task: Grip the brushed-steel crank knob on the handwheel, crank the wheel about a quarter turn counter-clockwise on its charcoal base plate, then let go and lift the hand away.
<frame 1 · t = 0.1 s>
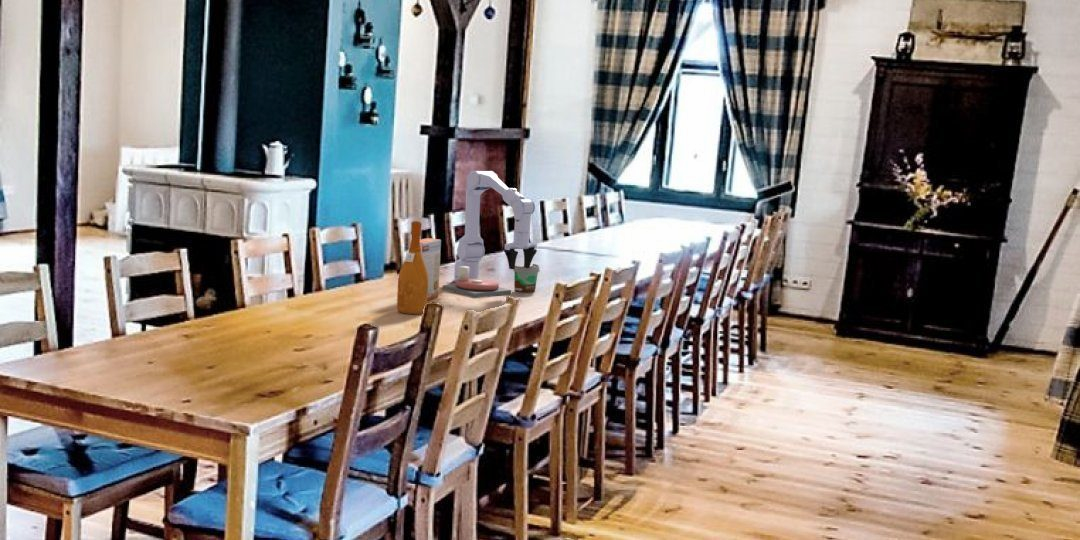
hand: (519, 268, 403), 10 cm above the table, fingers open, 7 cm apart
base plate: (476, 291, 406), on the table
handwheel: (477, 277, 405), point 5 cm above the table, hinge at 0.0°
wine bottle: (411, 312, 358), on the table
cracker box: (422, 299, 382), on the table
food container: (528, 292, 413), on the table
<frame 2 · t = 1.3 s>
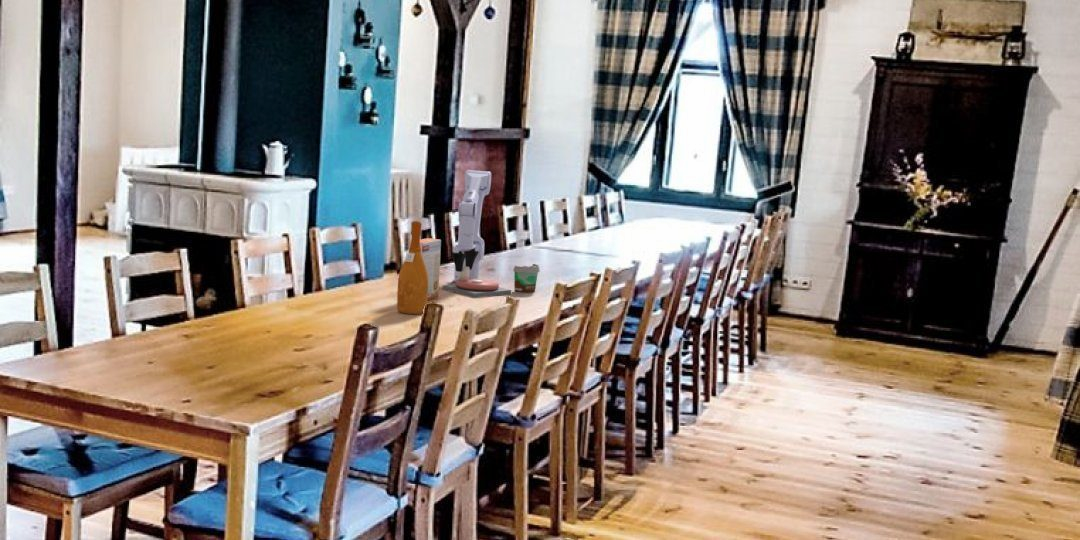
hand: (463, 270, 407), 7 cm above the table, fingers open, 7 cm apart
nothing on the table moved.
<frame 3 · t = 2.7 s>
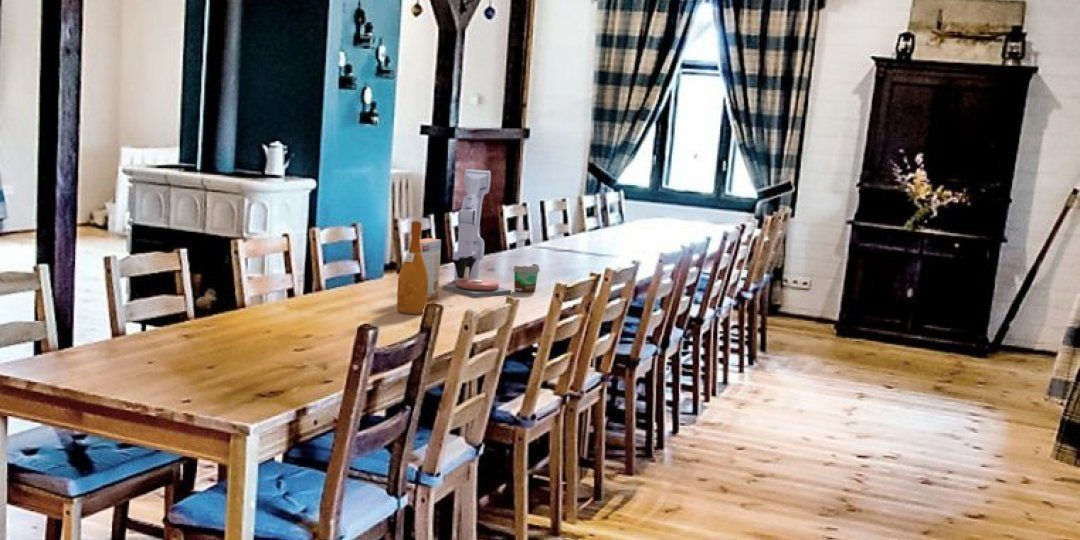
hand: (463, 277, 407), 5 cm above the table, fingers closed on handwheel, 4 cm apart
handwheel: (477, 277, 405), point 5 cm above the table, hinge at 0.0°, touching gripper
everything else where it was.
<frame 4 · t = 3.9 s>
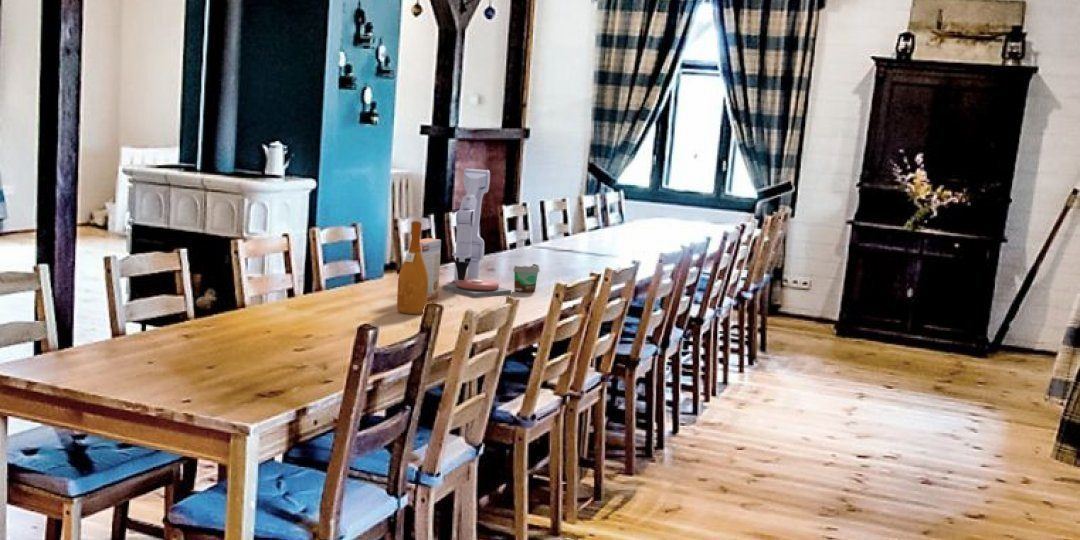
hand: (461, 278, 405), 5 cm above the table, fingers open, 6 cm apart
handwheel: (477, 277, 405), point 5 cm above the table, hinge at 14.5°, touching gripper
everything else where it was.
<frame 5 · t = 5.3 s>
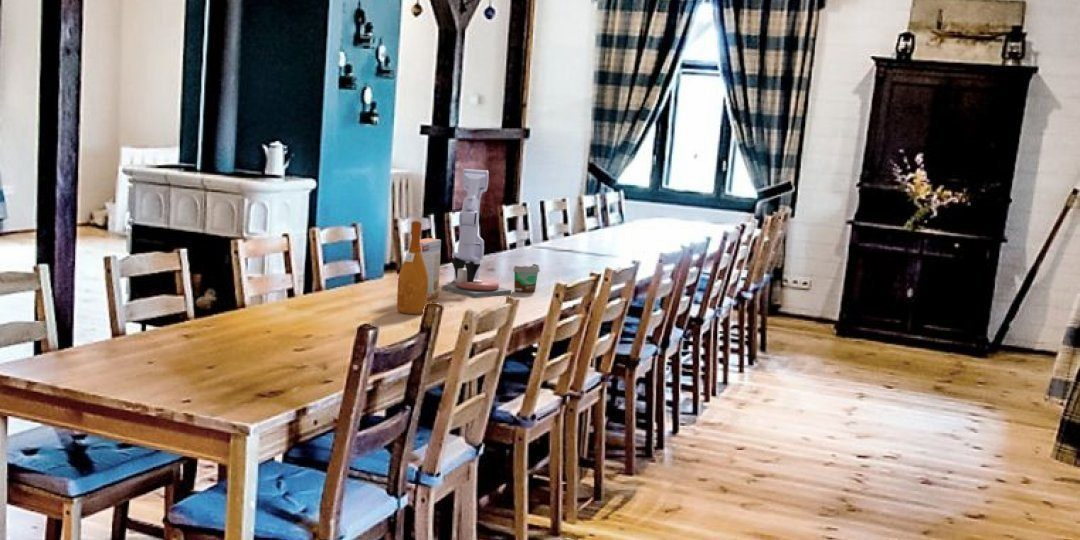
hand: (464, 280, 401), 5 cm above the table, fingers open, 6 cm apart
handwheel: (477, 277, 405), point 5 cm above the table, hinge at 52.0°, touching gripper
everything else where it was.
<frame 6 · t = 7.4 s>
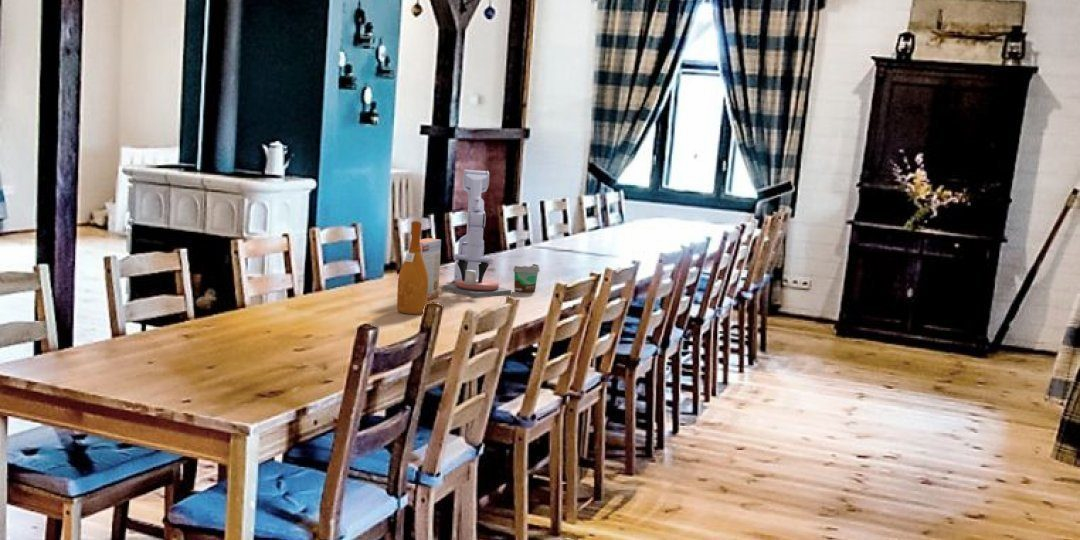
hand: (472, 281, 399), 5 cm above the table, fingers open, 6 cm apart
handwheel: (477, 277, 405), point 5 cm above the table, hinge at 91.0°, touching gripper
everything else where it was.
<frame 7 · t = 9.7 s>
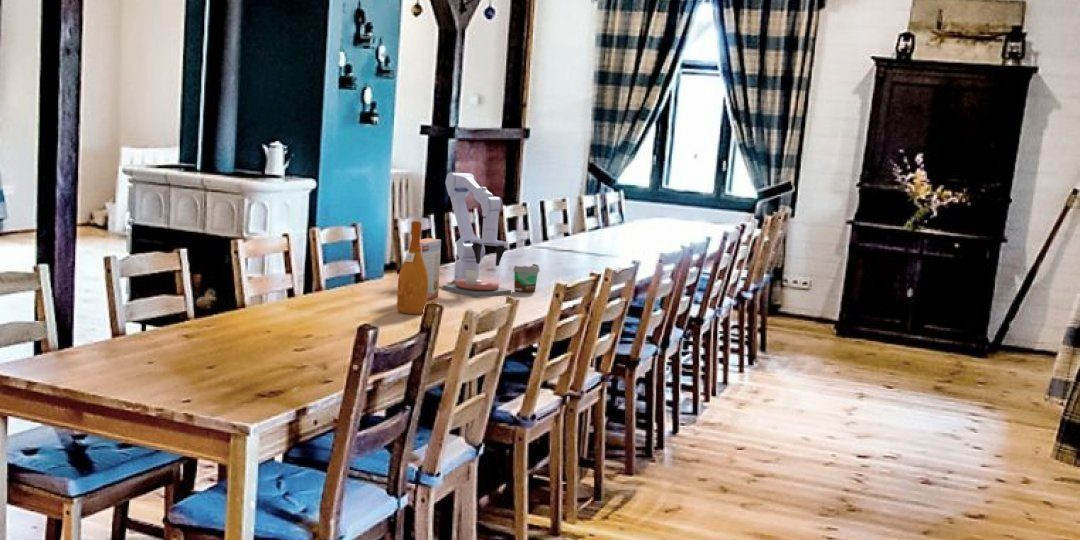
hand: (487, 264, 412), 9 cm above the table, fingers open, 7 cm apart
handwheel: (477, 277, 405), point 5 cm above the table, hinge at 94.5°
everything else where it was.
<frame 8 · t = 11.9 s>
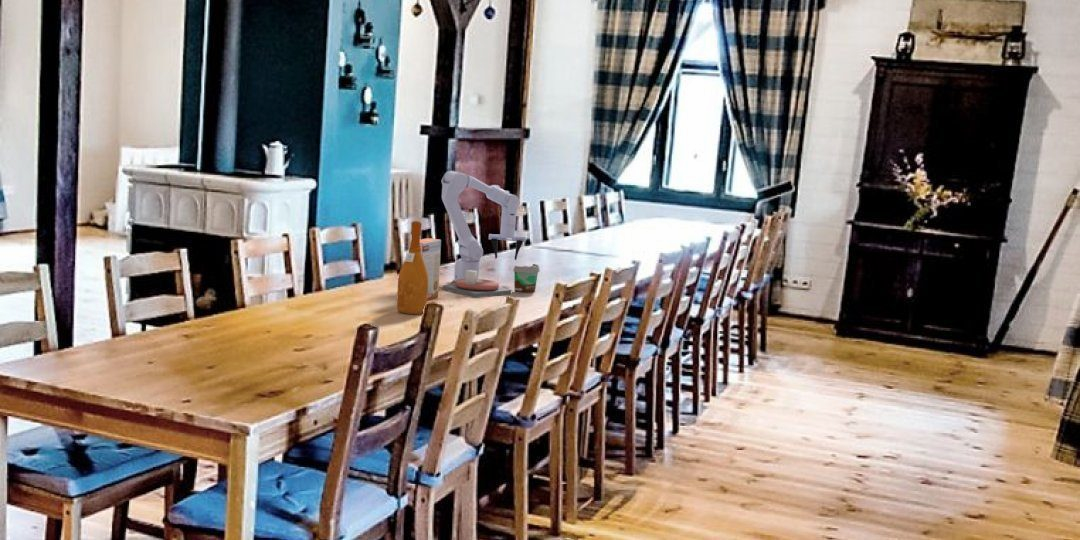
hand: (505, 258, 430), 9 cm above the table, fingers open, 7 cm apart
nothing on the table moved.
at the end: handwheel at +94° (first picture: +0°); the gripper is holding nothing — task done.
